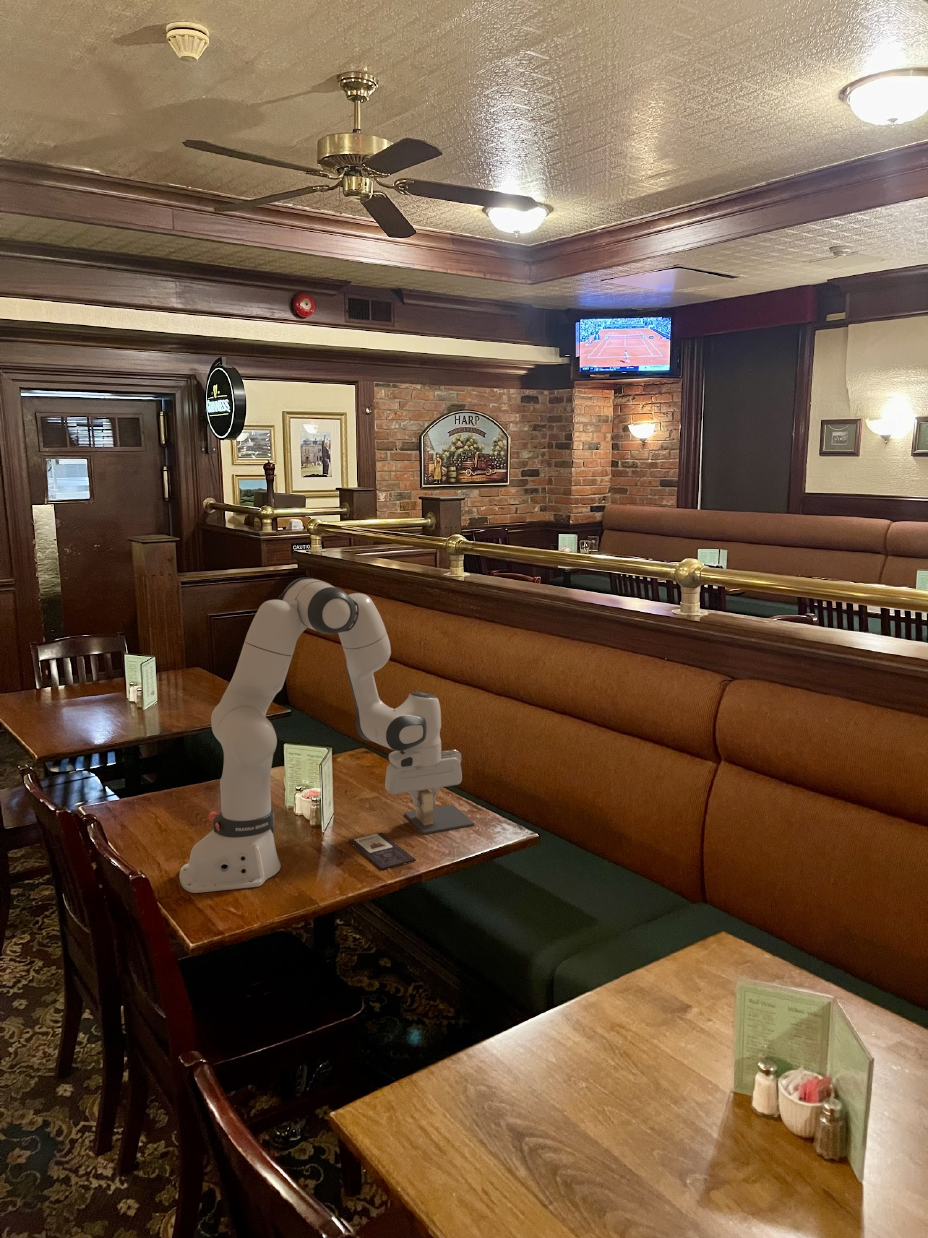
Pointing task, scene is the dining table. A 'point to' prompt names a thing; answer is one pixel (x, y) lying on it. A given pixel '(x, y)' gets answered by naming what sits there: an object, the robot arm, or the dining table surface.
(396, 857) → the chocolate bar
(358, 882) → the dining table surface
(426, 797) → the beech slab
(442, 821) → the bar mat
